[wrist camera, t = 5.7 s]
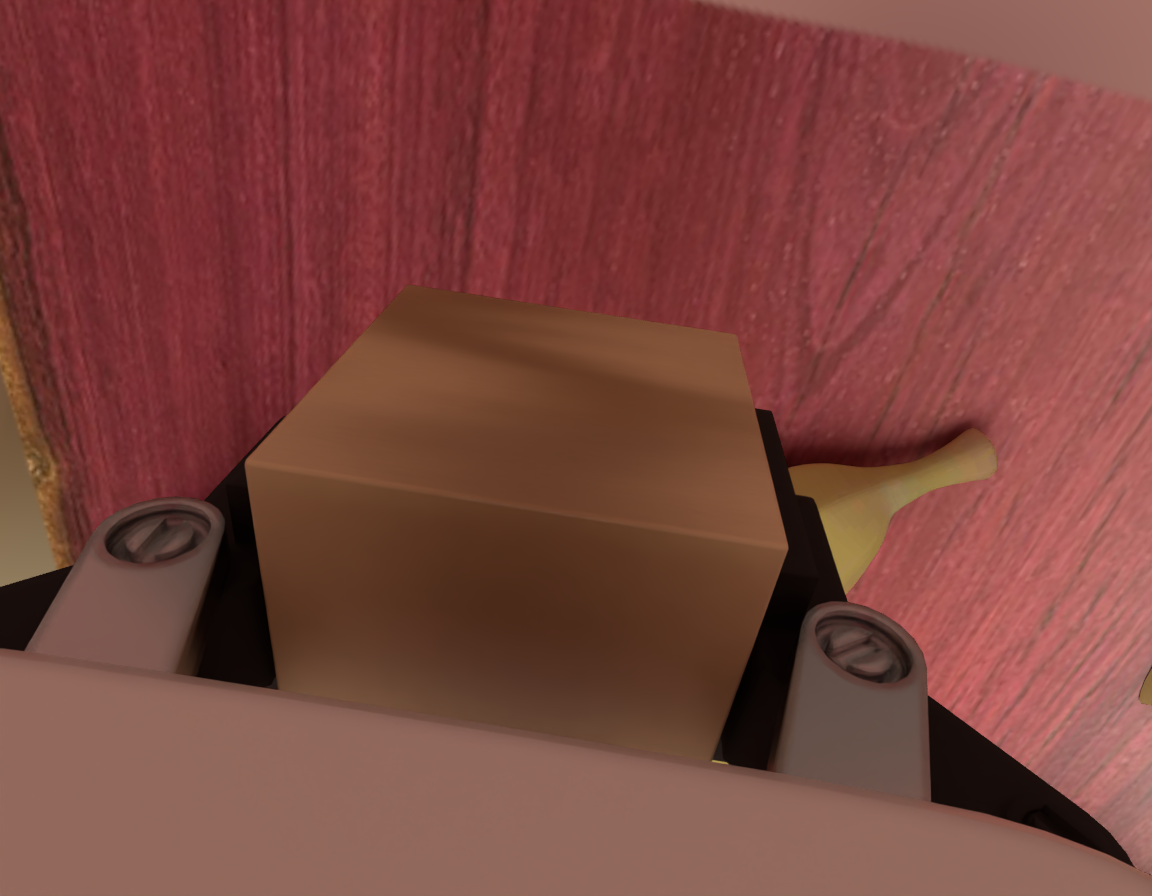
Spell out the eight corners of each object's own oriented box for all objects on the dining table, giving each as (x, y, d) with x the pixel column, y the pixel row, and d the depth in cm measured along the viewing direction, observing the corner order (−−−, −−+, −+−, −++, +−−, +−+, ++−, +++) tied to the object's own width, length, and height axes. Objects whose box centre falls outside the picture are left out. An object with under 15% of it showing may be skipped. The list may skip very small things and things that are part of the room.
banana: (539, 822, 27) (934, 410, 19) (524, 699, 31) (837, 327, 24) (794, 872, 32) (1176, 571, 25) (749, 762, 37) (1060, 478, 29)
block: (407, 541, 13) (290, 788, 9) (406, 282, 11) (241, 460, 6) (673, 583, 13) (680, 853, 9) (737, 332, 11) (791, 546, 6)
